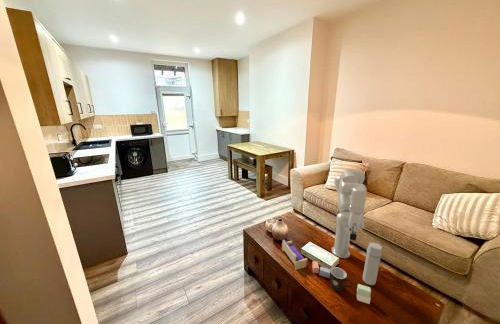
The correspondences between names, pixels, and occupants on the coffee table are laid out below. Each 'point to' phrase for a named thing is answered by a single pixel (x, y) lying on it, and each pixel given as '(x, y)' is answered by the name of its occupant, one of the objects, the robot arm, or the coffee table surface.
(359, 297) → the cream brick
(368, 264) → the water bottle
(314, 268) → the terracotta brick
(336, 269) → the coffee mug
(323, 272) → the slate brick
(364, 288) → the sage brick
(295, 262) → the toy sofa
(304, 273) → the coffee table surface
